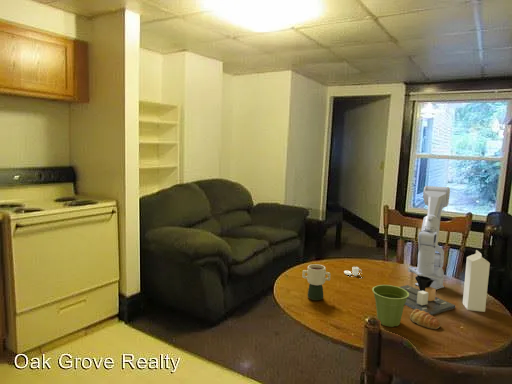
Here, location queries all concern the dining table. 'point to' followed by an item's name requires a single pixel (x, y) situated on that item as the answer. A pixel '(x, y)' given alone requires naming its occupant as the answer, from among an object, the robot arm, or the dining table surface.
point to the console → (430, 308)
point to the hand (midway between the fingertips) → (423, 294)
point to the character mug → (316, 280)
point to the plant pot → (389, 304)
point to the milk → (476, 282)
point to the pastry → (424, 319)
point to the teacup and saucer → (353, 271)
